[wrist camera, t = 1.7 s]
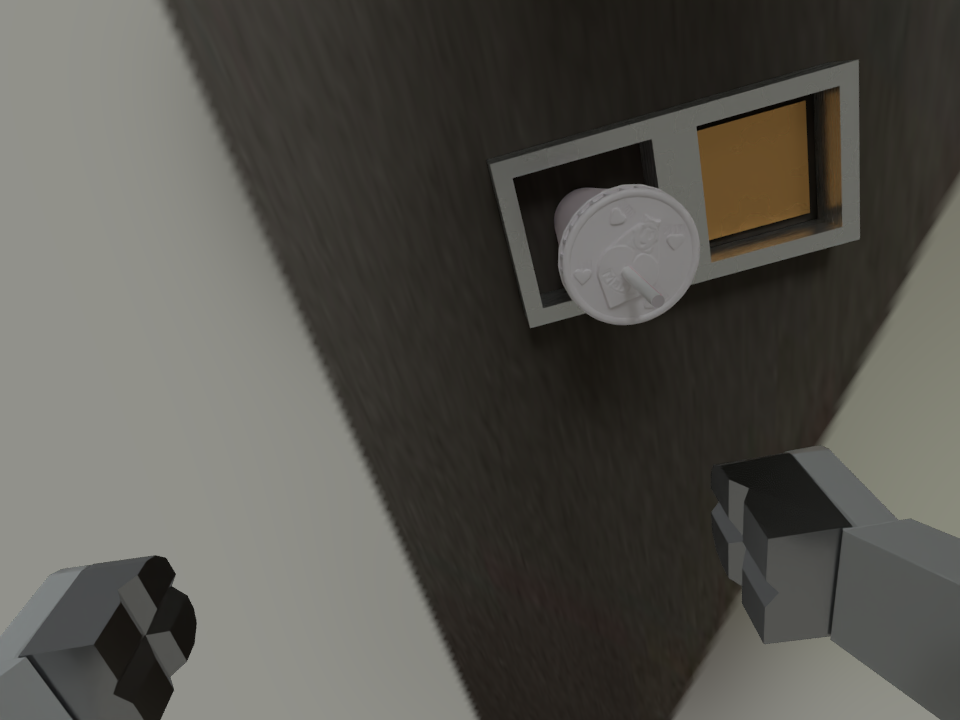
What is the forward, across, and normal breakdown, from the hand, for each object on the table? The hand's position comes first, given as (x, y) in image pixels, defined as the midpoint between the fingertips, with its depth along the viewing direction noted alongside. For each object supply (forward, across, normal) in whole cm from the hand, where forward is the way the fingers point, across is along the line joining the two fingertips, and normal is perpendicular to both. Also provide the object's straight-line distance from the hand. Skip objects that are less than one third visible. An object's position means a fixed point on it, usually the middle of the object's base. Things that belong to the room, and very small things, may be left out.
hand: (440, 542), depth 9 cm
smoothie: (+29, -7, +3) cm, 30 cm away
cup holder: (+29, -12, +3) cm, 32 cm away
